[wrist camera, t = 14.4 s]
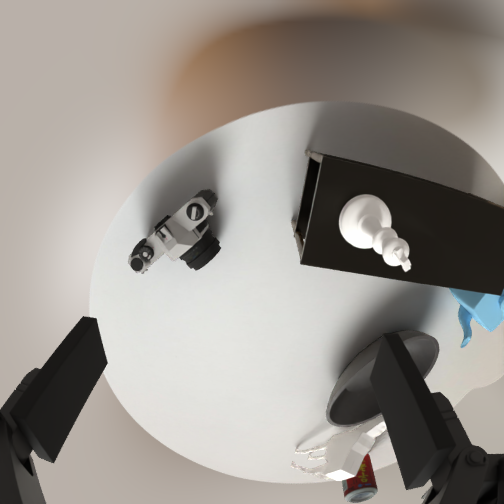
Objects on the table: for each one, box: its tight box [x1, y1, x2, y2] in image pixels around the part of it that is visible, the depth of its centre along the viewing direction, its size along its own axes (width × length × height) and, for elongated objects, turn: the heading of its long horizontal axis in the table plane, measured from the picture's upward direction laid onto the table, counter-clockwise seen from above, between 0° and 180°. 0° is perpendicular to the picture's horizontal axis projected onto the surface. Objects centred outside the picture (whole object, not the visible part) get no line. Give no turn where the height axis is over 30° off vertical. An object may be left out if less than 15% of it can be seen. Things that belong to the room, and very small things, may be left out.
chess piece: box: [339, 194, 411, 272], centre depth 23 cm, size 5×5×10 cm
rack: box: [291, 150, 504, 296], centre depth 34 cm, size 26×10×13 cm, turn 81°
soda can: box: [342, 453, 377, 503], centre depth 54 cm, size 7×7×12 cm
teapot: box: [449, 288, 504, 348], centre depth 39 cm, size 18×14×10 cm
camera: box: [128, 189, 221, 274], centre depth 39 cm, size 13×8×9 cm, turn 132°
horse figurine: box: [291, 416, 387, 481], centre depth 52 cm, size 5×16×25 cm
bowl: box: [326, 330, 439, 427], centre depth 47 cm, size 12×22×6 cm, turn 143°
